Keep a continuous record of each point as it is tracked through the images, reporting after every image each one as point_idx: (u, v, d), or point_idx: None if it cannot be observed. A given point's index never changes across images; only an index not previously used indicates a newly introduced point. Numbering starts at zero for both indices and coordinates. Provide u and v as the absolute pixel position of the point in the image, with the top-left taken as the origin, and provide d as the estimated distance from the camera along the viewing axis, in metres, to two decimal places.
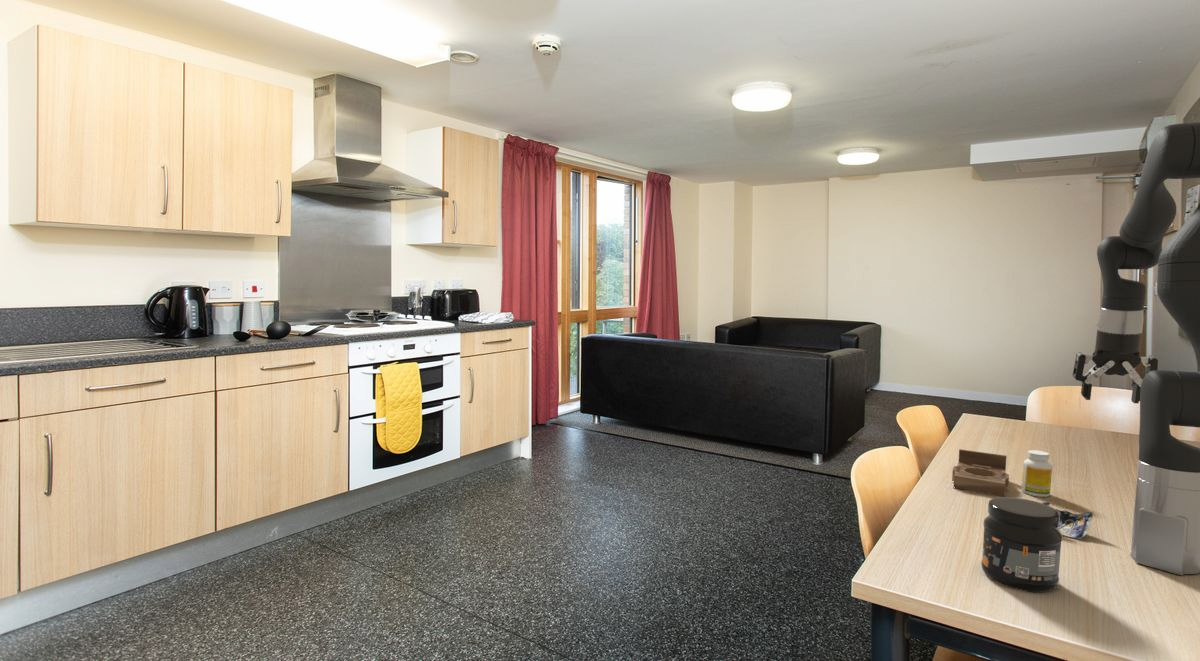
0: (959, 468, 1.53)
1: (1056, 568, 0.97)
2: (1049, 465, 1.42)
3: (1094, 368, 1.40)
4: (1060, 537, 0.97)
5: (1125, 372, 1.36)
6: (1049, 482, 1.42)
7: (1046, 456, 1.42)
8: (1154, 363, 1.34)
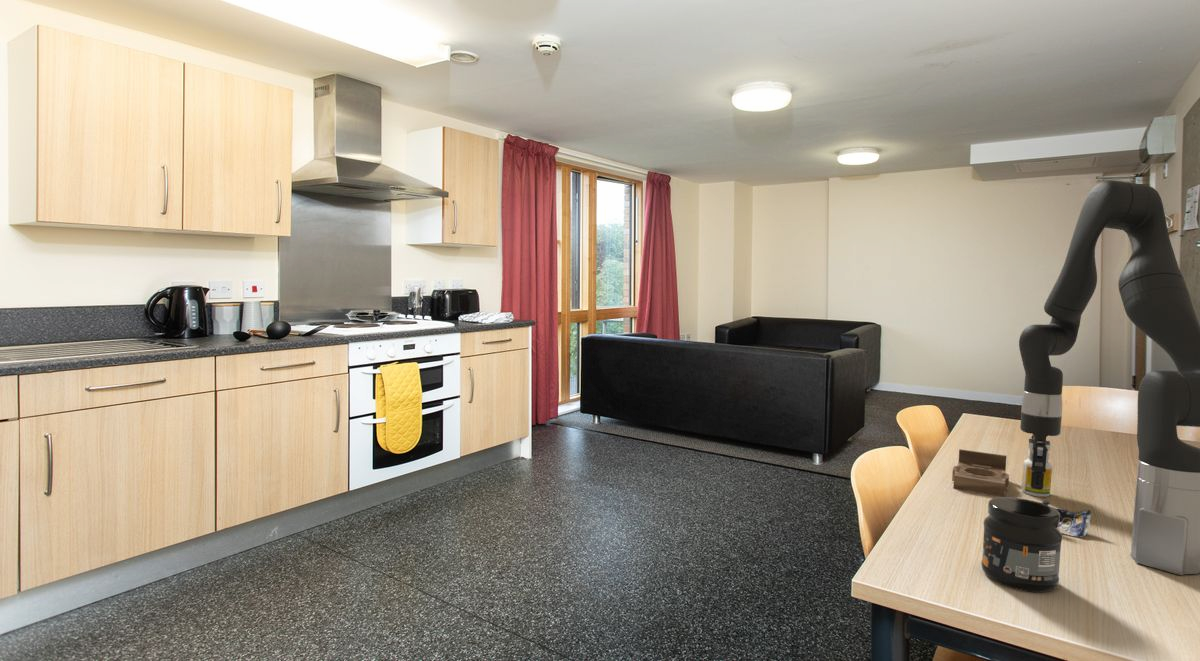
0: (959, 468, 1.53)
1: (1056, 568, 0.97)
2: (1049, 465, 1.42)
3: (1032, 456, 1.42)
4: (1060, 537, 0.97)
5: None
6: (1049, 482, 1.42)
7: None
8: None
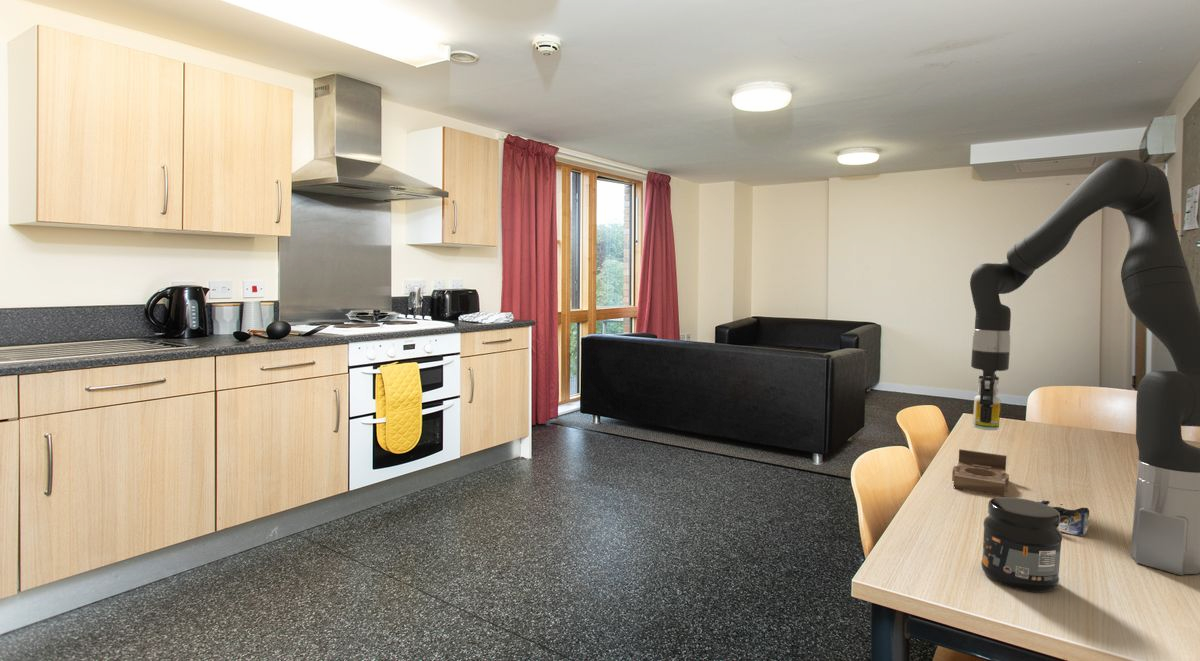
0: (959, 468, 1.53)
1: (1056, 568, 0.97)
2: (998, 399, 1.47)
3: None
4: (1060, 537, 0.97)
5: None
6: (998, 416, 1.47)
7: None
8: None
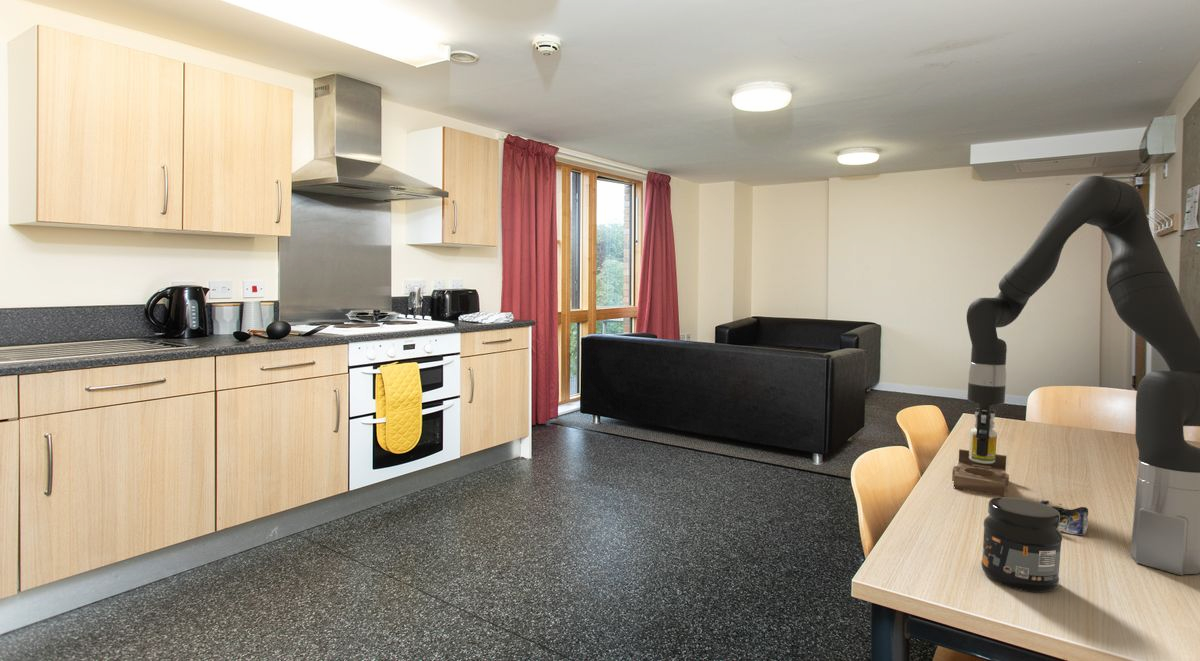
0: (959, 468, 1.53)
1: (1056, 568, 0.97)
2: (994, 433, 1.47)
3: None
4: (1060, 537, 0.97)
5: None
6: (994, 449, 1.47)
7: None
8: None
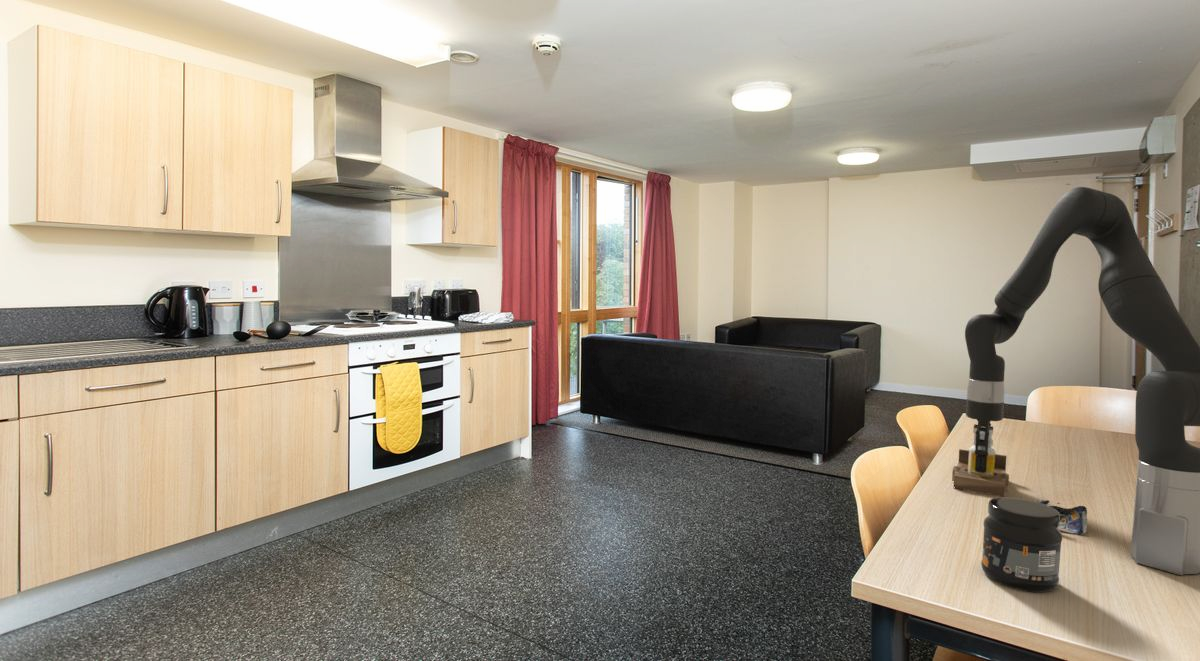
0: (959, 468, 1.53)
1: (1056, 568, 0.97)
2: (992, 451, 1.48)
3: None
4: (1060, 537, 0.97)
5: (988, 437, 1.50)
6: (992, 467, 1.48)
7: None
8: None
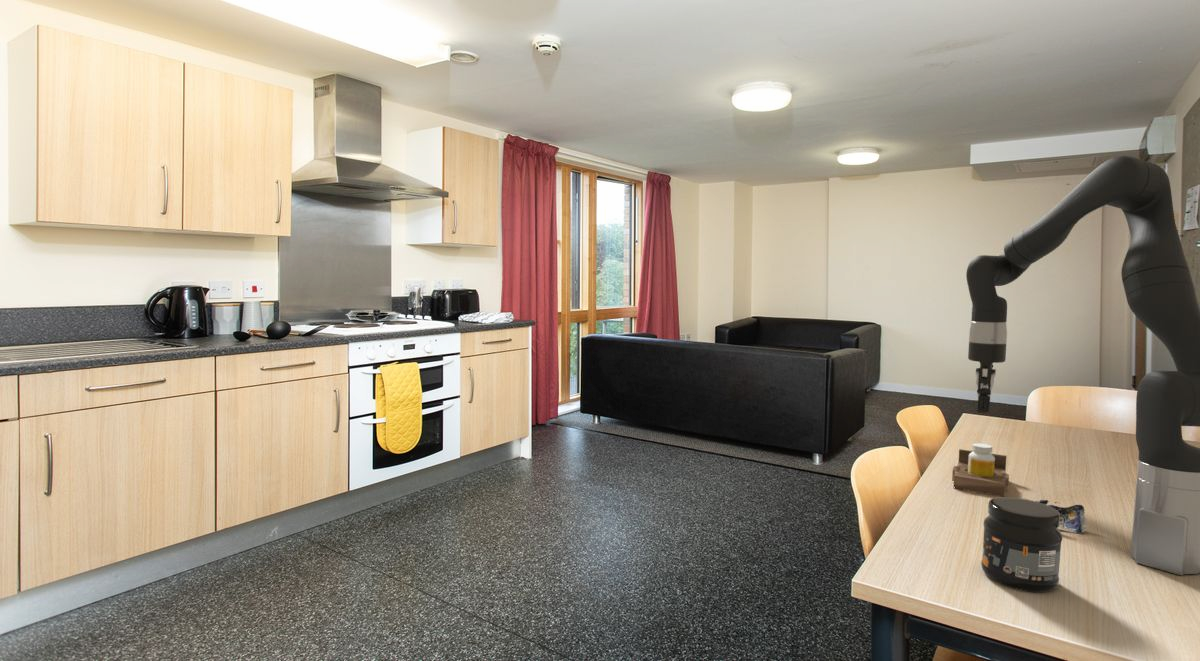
0: (959, 468, 1.53)
1: (1056, 568, 0.97)
2: (992, 457, 1.47)
3: None
4: (1060, 537, 0.97)
5: None
6: (992, 474, 1.48)
7: (989, 449, 1.47)
8: None
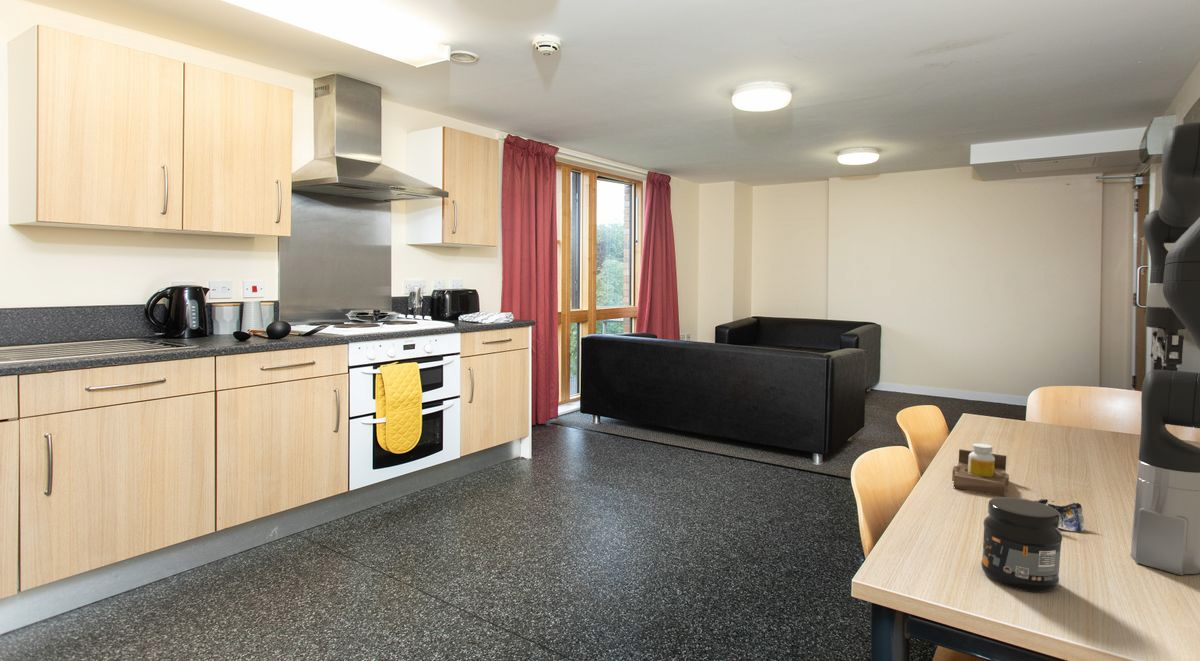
0: (959, 468, 1.53)
1: (1056, 568, 0.97)
2: (992, 457, 1.47)
3: None
4: (1060, 537, 0.97)
5: None
6: (992, 474, 1.48)
7: (989, 449, 1.47)
8: None
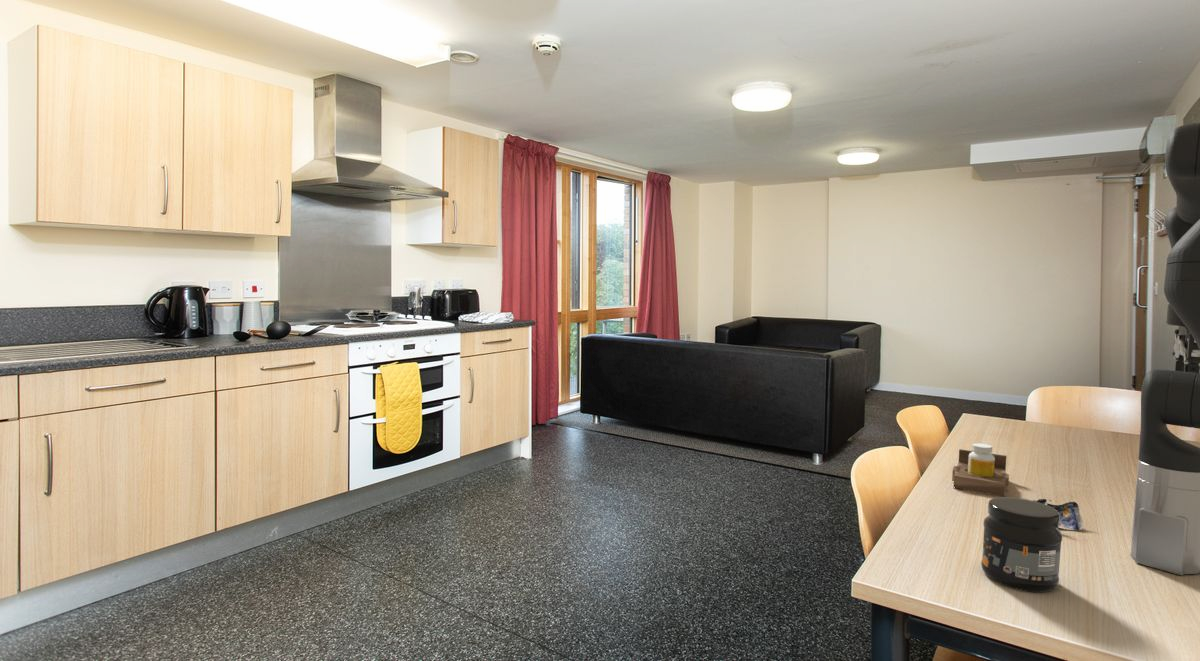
0: (959, 468, 1.53)
1: (1056, 568, 0.97)
2: (992, 457, 1.47)
3: None
4: (1060, 537, 0.97)
5: None
6: (992, 474, 1.48)
7: (989, 449, 1.47)
8: None
